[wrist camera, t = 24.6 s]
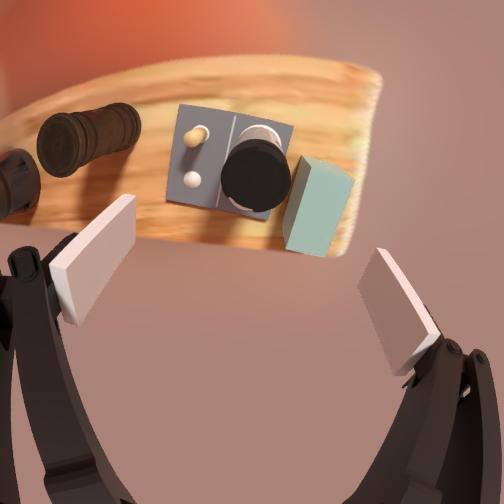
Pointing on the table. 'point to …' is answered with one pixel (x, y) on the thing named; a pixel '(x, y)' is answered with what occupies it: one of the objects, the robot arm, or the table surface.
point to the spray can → (256, 171)
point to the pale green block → (315, 206)
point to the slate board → (211, 155)
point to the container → (85, 137)
